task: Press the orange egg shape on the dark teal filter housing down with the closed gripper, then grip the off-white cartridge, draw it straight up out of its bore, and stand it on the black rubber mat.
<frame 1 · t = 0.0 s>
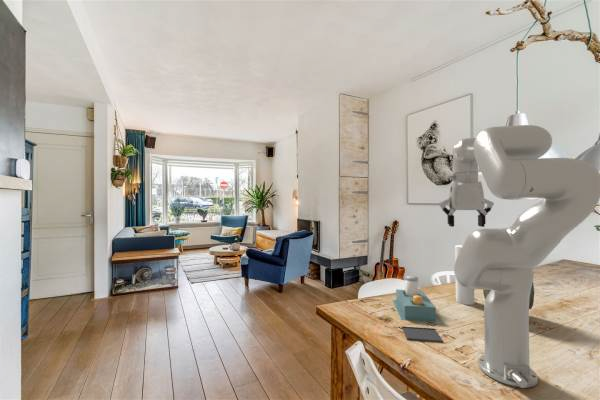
hand: (466, 226, 96), 37 cm above the table, tool pointing down, fingers open, 9 cm apart
orange egg shape: (417, 302, 105), point 6 cm above the table, slide at 0.0 cm
tabletop clock: (506, 315, 107), on the table
mat: (420, 332, 94), on the table
filter housing: (414, 312, 111), on the table
cartridge: (411, 305, 115), point 1 cm above the table, touching filter housing
cylindrical container: (465, 302, 122), on the table
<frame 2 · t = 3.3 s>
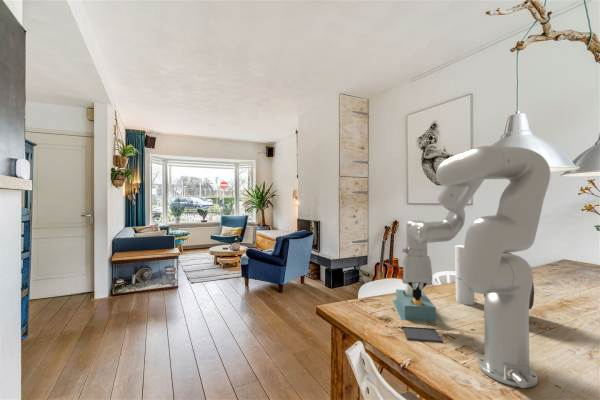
hand: (416, 298, 106), 8 cm above the table, tool pointing down, fingers closed
orange egg shape: (417, 304, 105), point 5 cm above the table, slide at 1.0 cm, touching gripper
everything else where it was.
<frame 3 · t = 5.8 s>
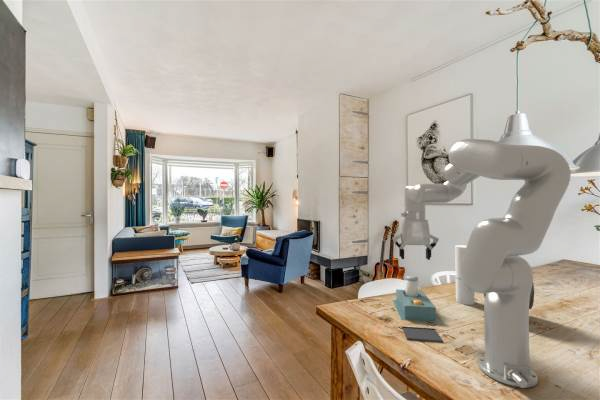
hand: (415, 258, 108), 23 cm above the table, tool pointing down, fingers open, 9 cm apart
orange egg shape: (417, 306, 105), point 5 cm above the table, slide at 1.8 cm
everything else where it was.
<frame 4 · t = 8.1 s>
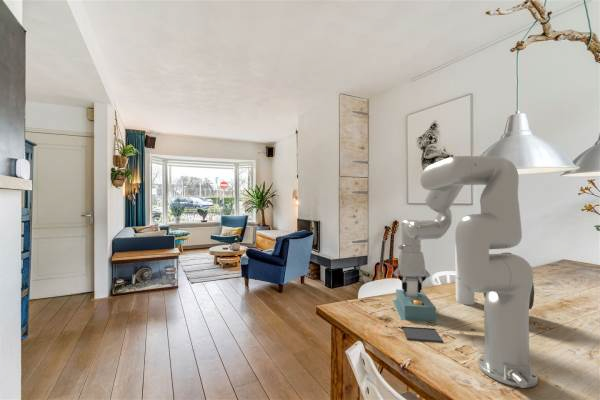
hand: (411, 290, 115), 7 cm above the table, tool pointing down, fingers closed on cartridge, 5 cm apart
cartridge: (411, 305, 115), point 1 cm above the table, touching filter housing, gripper
everything else where it was.
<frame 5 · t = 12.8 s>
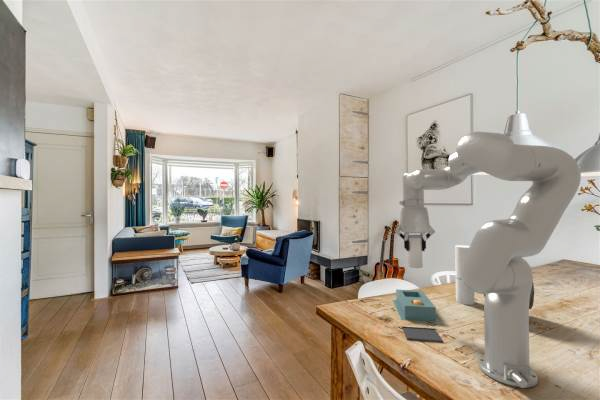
hand: (415, 250, 105), 27 cm above the table, tool pointing down, fingers closed on cartridge, 5 cm apart
cartridge: (415, 266, 105), point 20 cm above the table, touching gripper
everything else where it was.
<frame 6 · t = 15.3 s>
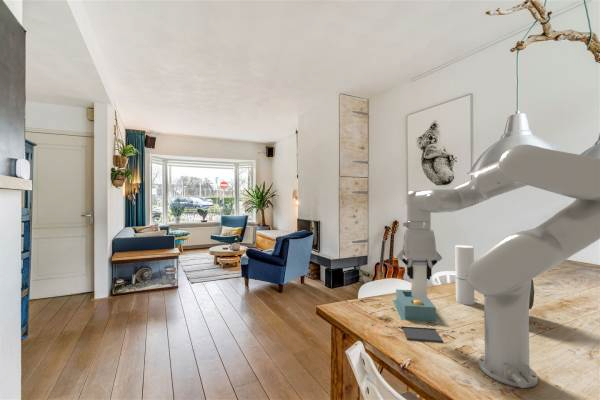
hand: (419, 277, 94), 19 cm above the table, tool pointing down, fingers closed on cartridge, 5 cm apart
cartridge: (419, 295, 94), point 13 cm above the table, touching gripper
everything else where it was.
when the fingers open (8 cm above the table, at t = 17.6 s): cartridge drops 1 cm, resting on mat.
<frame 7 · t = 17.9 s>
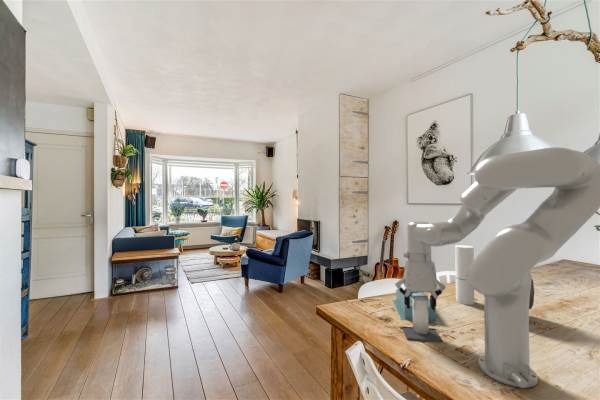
hand: (420, 307, 94), 9 cm above the table, tool pointing down, fingers open, 7 cm apart
cartridge: (420, 331, 94), point 1 cm above the table, touching mat
everything else where it was.
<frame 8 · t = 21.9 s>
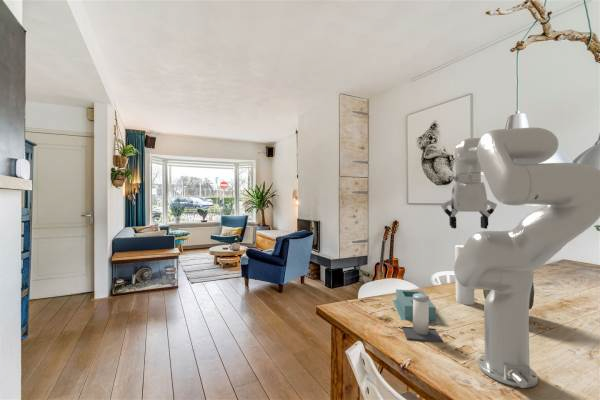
hand: (468, 228, 94), 36 cm above the table, tool pointing down, fingers open, 9 cm apart
nothing on the table moved.
at the end: orange egg shape slide at 1.8 cm; cartridge inside the target area on the mat (0.1 cm from its centre), point 0.7 cm above the mat's base; cartridge tilted 2° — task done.
